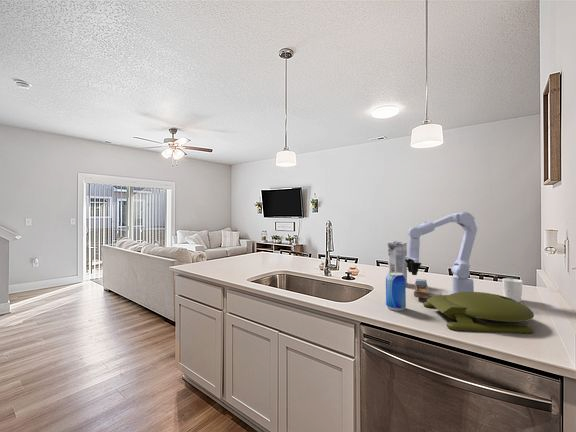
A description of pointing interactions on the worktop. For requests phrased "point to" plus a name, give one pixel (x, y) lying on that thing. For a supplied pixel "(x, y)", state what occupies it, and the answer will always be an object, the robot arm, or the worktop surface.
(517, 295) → the white cup
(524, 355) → the worktop surface
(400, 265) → the juice carton
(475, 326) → the spaceship
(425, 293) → the wooden tray
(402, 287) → the beer can
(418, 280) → the block
